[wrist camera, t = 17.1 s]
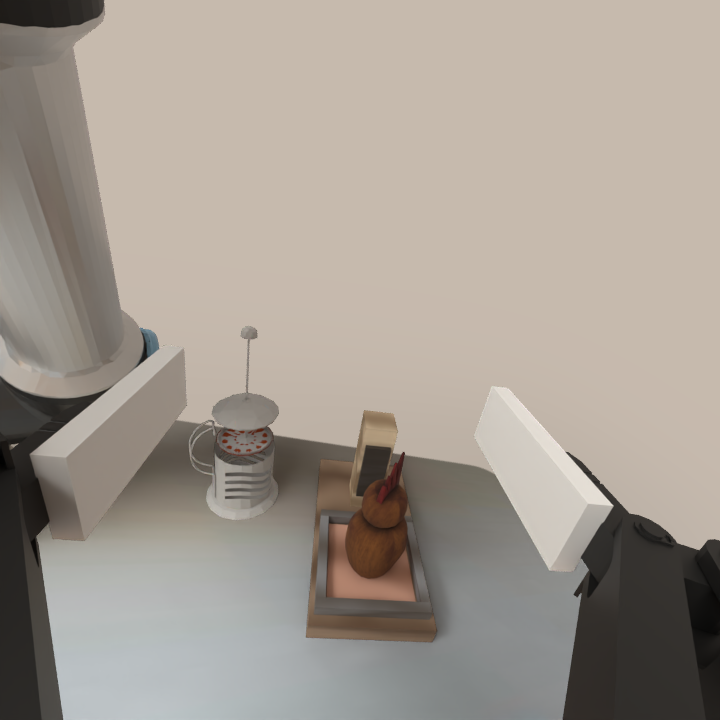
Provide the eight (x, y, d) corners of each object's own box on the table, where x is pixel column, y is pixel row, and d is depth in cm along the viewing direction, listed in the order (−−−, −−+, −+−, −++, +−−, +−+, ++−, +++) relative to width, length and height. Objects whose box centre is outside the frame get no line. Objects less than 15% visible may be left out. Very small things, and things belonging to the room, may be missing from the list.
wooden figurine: (377, 531, 45) (401, 436, 39) (406, 569, 41) (439, 469, 35) (332, 554, 41) (351, 452, 35) (360, 599, 37) (387, 492, 31)
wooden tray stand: (432, 642, 36) (474, 541, 30) (305, 637, 35) (324, 530, 29) (397, 476, 58) (418, 398, 52) (319, 468, 56) (331, 388, 50)
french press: (286, 509, 48) (304, 342, 38) (193, 533, 43) (185, 345, 33) (269, 462, 56) (280, 313, 46) (189, 477, 51) (181, 312, 41)
